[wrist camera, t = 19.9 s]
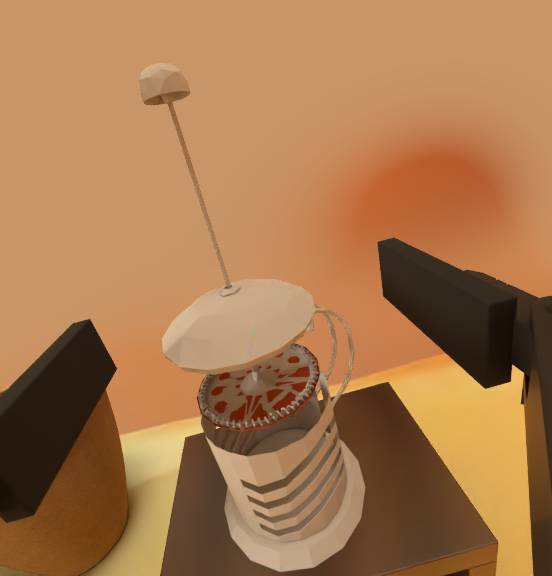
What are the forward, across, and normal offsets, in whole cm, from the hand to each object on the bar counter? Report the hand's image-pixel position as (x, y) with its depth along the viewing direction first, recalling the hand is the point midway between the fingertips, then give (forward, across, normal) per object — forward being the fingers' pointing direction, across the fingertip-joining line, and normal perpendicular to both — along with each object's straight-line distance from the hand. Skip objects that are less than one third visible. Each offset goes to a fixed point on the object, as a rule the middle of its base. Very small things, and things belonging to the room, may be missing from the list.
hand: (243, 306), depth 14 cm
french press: (+2, 0, -15) cm, 15 cm away
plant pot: (+10, -23, -25) cm, 36 cm away
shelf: (+2, 0, -25) cm, 25 cm away
